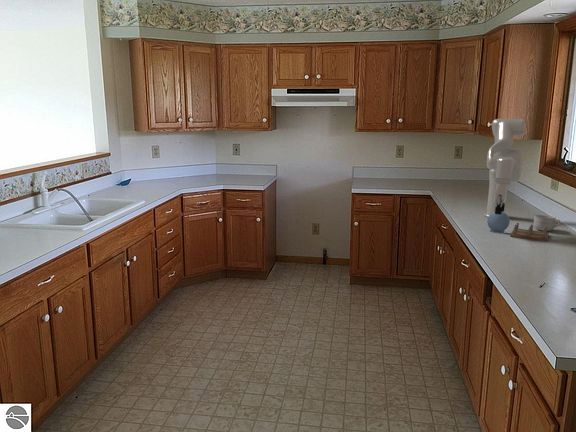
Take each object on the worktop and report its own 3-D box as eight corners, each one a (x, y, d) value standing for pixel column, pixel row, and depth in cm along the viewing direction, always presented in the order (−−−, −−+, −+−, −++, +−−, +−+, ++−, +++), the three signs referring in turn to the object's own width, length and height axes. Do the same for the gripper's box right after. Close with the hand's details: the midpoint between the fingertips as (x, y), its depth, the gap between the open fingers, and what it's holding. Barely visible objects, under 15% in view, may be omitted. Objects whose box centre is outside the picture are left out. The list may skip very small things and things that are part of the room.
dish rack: (514, 230, 269) (515, 221, 268) (548, 235, 261) (549, 226, 260) (510, 236, 257) (511, 227, 256) (546, 241, 248) (547, 232, 247)
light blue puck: (486, 230, 270) (489, 209, 268) (508, 232, 265) (510, 212, 262) (486, 231, 268) (488, 210, 266) (507, 233, 263) (510, 213, 260)
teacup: (528, 228, 275) (530, 214, 273) (542, 226, 278) (544, 213, 276) (549, 234, 262) (551, 220, 260) (563, 232, 266) (565, 218, 264)
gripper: (497, 179, 269) (494, 209, 272) (492, 182, 254) (489, 214, 258) (512, 180, 265) (509, 210, 269) (508, 183, 251) (504, 216, 254)
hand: (499, 212), depth 263 cm, fingers open, 9 cm apart
